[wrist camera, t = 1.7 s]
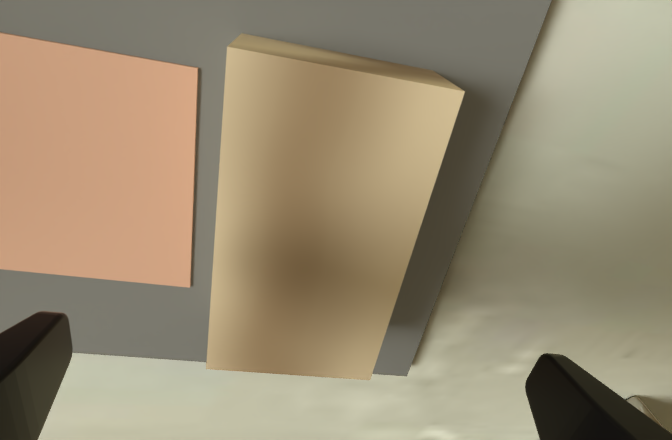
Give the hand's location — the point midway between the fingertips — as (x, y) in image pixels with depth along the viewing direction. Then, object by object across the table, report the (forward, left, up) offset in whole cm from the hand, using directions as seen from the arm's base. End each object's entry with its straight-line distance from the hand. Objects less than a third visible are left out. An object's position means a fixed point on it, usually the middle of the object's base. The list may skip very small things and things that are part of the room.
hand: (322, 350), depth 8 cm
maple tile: (0, 0, -6) cm, 6 cm away
